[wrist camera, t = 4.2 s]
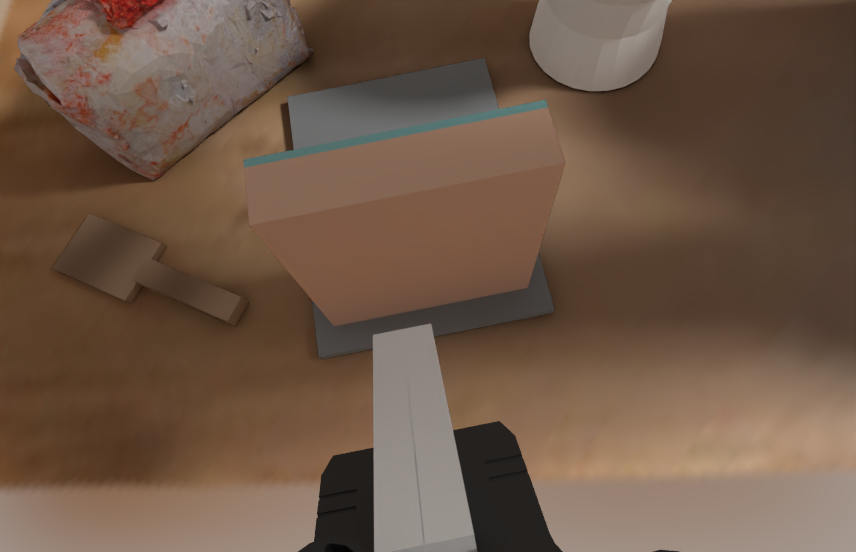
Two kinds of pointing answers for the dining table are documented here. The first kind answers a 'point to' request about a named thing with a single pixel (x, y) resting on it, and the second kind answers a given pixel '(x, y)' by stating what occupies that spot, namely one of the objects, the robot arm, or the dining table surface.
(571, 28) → the cup
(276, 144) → the dining table surface
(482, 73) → the mat
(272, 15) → the food item
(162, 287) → the spatula
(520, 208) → the tile
